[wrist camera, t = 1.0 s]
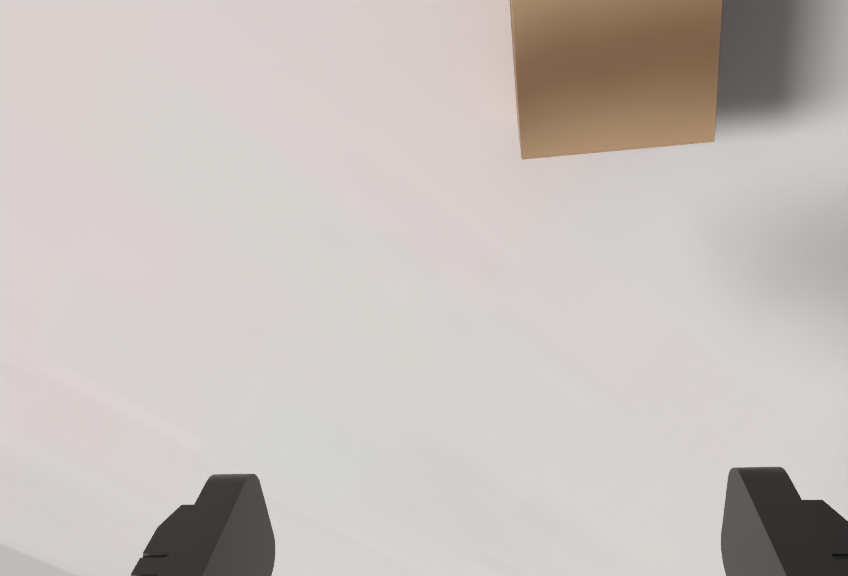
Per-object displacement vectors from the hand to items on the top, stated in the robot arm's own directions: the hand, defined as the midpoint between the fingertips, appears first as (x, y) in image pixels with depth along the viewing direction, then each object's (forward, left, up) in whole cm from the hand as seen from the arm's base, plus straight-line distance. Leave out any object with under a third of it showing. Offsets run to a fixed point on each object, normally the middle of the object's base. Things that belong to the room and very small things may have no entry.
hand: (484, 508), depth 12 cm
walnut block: (-5, +4, -19) cm, 20 cm away
